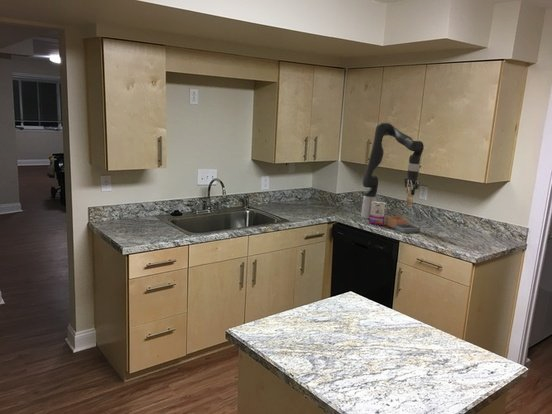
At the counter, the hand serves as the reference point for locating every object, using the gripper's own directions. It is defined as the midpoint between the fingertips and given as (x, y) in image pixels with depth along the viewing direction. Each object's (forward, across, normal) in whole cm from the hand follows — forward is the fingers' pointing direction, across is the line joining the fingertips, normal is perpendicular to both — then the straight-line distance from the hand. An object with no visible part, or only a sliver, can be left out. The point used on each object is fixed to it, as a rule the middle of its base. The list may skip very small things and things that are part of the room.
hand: (410, 194), depth 318 cm
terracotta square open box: (+26, -11, 0) cm, 28 cm away
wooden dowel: (+9, 0, 0) cm, 9 cm away
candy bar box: (+26, -21, -10) cm, 35 cm away
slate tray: (+26, 0, 0) cm, 26 cm away
